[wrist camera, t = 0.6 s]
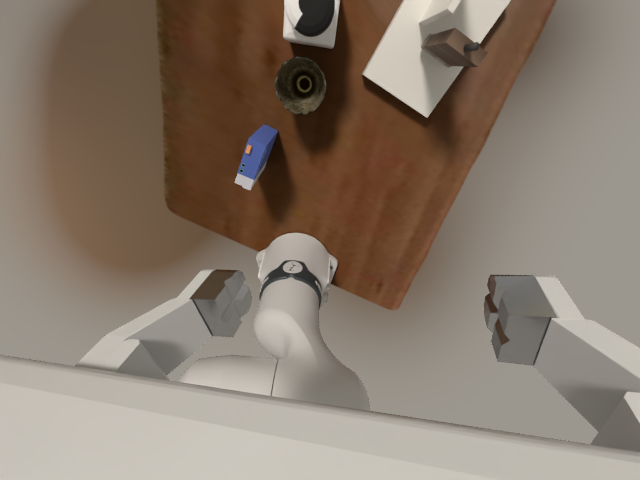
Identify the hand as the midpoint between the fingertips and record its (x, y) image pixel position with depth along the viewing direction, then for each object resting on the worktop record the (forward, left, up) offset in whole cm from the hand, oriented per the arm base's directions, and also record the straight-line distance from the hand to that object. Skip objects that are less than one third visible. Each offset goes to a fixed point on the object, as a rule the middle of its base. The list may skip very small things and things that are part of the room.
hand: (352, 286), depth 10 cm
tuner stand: (+11, -14, -48) cm, 51 cm away
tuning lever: (+9, -15, -44) cm, 47 cm away
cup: (+3, +5, -48) cm, 48 cm away
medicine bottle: (+12, +4, -48) cm, 49 cm away
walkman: (-8, +12, -48) cm, 50 cm away
